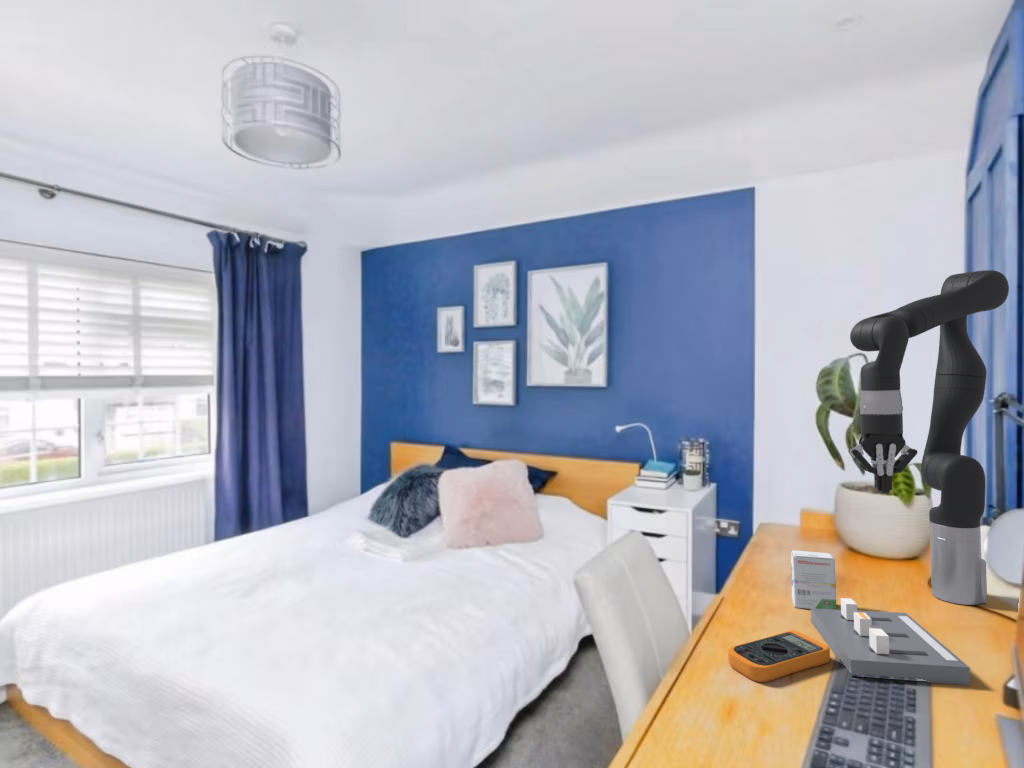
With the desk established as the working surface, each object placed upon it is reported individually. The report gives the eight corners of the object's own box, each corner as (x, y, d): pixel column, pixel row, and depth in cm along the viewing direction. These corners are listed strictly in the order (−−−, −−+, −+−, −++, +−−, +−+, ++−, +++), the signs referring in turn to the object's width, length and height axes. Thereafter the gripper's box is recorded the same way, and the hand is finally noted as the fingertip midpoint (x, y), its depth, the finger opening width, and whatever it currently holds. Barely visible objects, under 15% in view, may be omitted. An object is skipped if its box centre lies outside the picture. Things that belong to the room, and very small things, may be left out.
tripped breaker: (865, 629, 108) (865, 612, 108) (872, 636, 105) (871, 618, 105) (854, 628, 108) (853, 611, 108) (860, 635, 105) (859, 618, 105)
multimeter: (722, 665, 103) (721, 646, 103) (794, 644, 110) (793, 627, 110) (758, 688, 95) (758, 668, 95) (833, 664, 102) (833, 646, 102)
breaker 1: (851, 614, 115) (851, 598, 115) (857, 620, 112) (857, 604, 112) (841, 613, 115) (840, 598, 115) (846, 619, 112) (846, 603, 112)
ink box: (794, 607, 126) (792, 555, 126) (791, 599, 131) (789, 549, 131) (837, 612, 123) (835, 559, 123) (833, 603, 128) (831, 551, 128)
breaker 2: (881, 646, 101) (881, 628, 101) (889, 654, 98) (888, 636, 98) (869, 645, 102) (869, 628, 102) (876, 653, 99) (876, 635, 99)
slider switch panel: (906, 627, 115) (906, 612, 115) (970, 685, 93) (969, 666, 93) (811, 622, 119) (810, 607, 119) (851, 677, 97) (850, 659, 97)
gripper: (907, 409, 121) (909, 489, 121) (840, 411, 124) (842, 489, 124) (925, 412, 114) (927, 496, 114) (853, 413, 117) (856, 496, 117)
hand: (883, 492), depth 119 cm, fingers closed
